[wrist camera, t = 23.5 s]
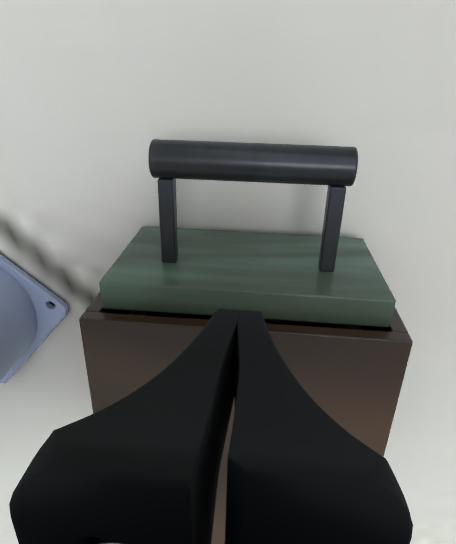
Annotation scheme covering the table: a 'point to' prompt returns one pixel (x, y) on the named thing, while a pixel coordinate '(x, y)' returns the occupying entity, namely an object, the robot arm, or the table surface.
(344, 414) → the cabinet
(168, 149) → the drawer
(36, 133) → the table surface
